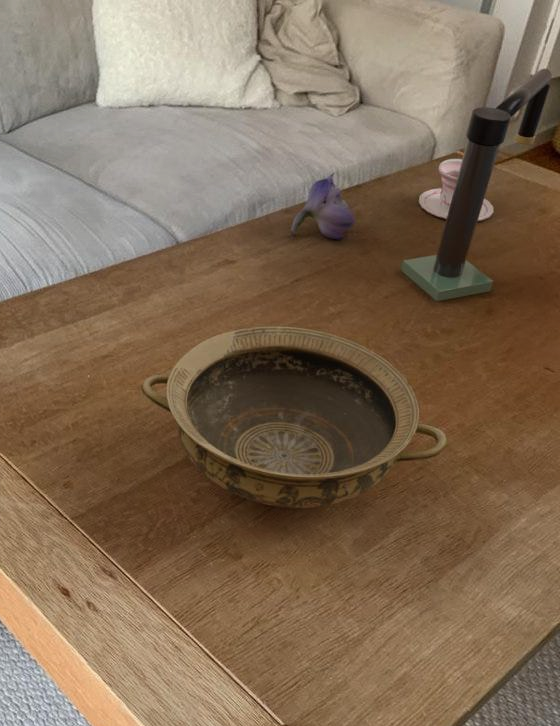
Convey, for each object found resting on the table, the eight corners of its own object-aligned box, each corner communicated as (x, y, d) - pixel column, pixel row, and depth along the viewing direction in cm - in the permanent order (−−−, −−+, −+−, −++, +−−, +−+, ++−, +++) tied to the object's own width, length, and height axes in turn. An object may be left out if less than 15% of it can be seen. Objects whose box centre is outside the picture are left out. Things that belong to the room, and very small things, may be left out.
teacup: (414, 188, 138) (423, 152, 134) (486, 194, 138) (497, 158, 134) (422, 220, 130) (431, 181, 125) (498, 226, 129) (510, 188, 125)
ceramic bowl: (436, 432, 90) (460, 356, 84) (415, 591, 73) (443, 513, 67) (177, 375, 96) (180, 300, 89) (101, 512, 79) (97, 432, 72)
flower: (295, 206, 116) (350, 165, 116) (271, 206, 123) (323, 167, 124) (325, 261, 120) (378, 222, 120) (300, 258, 127) (351, 220, 128)
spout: (479, 209, 105) (504, 123, 98) (445, 199, 107) (467, 114, 99) (541, 142, 124) (566, 66, 116) (511, 134, 125) (534, 59, 118)
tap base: (452, 261, 120) (491, 124, 107) (490, 291, 114) (536, 149, 101) (400, 270, 117) (433, 130, 104) (436, 301, 111) (476, 157, 98)
